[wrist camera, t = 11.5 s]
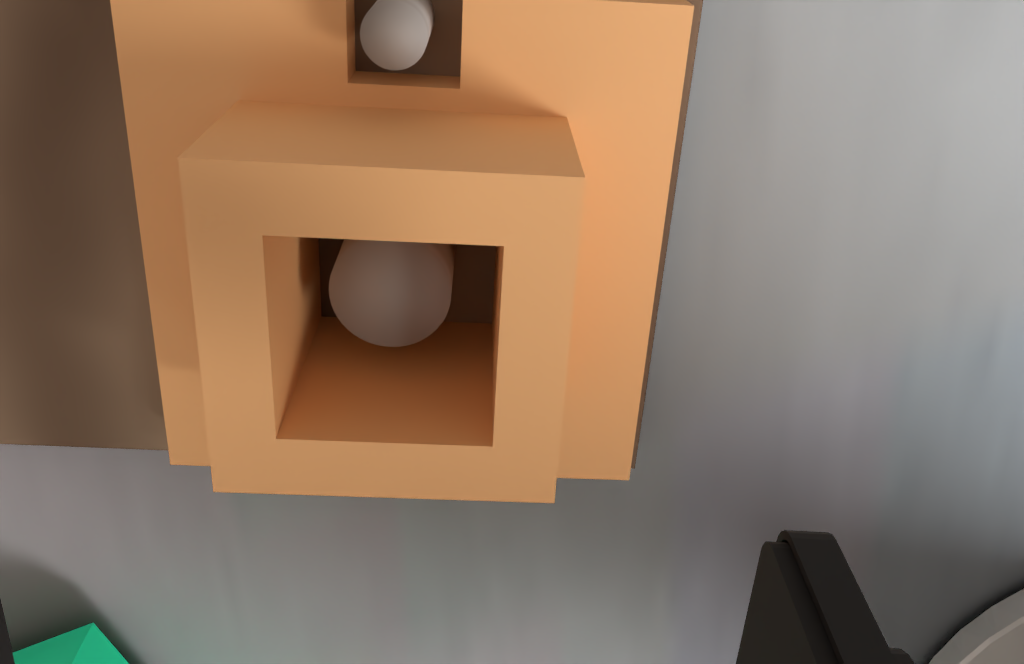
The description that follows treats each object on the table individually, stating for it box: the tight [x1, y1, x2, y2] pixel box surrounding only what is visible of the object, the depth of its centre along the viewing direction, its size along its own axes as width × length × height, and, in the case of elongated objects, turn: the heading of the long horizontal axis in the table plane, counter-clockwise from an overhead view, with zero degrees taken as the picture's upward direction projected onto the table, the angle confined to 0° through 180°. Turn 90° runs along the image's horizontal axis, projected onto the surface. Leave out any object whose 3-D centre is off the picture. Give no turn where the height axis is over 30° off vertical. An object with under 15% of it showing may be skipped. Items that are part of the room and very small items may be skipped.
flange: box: [110, 0, 694, 503], centre depth 19 cm, size 11×11×5 cm
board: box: [0, 0, 703, 468], centre depth 20 cm, size 27×12×4 cm, turn 86°
